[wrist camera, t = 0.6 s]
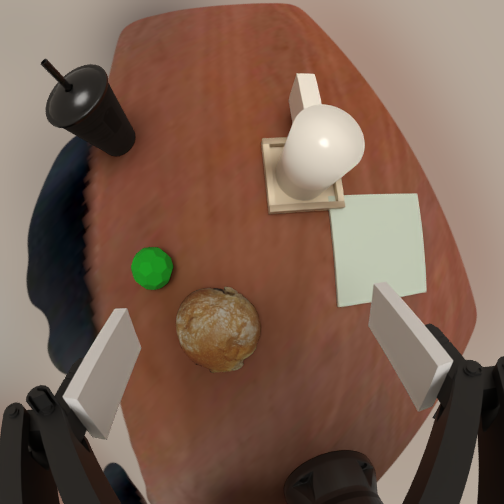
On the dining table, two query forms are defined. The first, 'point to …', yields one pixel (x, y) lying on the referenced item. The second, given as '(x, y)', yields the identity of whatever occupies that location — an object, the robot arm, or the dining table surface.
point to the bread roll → (217, 328)
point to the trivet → (377, 246)
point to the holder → (282, 201)
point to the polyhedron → (152, 268)
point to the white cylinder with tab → (316, 143)
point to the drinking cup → (89, 109)
